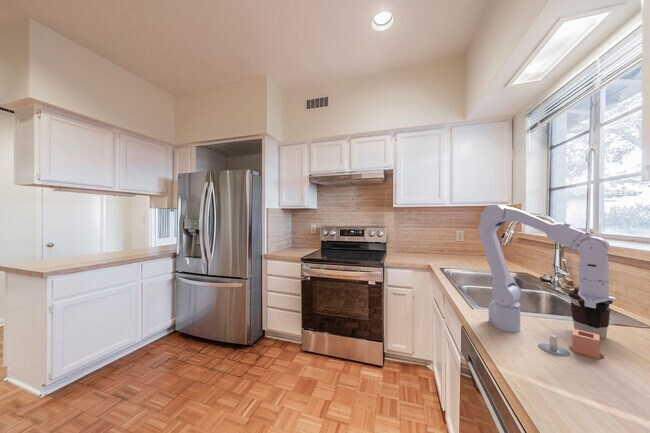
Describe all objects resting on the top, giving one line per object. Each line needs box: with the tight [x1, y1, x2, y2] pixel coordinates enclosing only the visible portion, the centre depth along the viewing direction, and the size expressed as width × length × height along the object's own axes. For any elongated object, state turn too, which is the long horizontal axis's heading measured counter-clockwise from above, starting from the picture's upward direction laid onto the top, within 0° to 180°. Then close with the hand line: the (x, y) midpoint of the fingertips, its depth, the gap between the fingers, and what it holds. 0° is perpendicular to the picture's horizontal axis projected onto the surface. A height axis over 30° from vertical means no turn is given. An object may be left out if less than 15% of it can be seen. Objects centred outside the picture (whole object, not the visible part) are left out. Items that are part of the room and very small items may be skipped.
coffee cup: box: [567, 286, 613, 339], centre depth 81 cm, size 10×10×15 cm
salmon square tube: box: [571, 328, 601, 360], centre depth 70 cm, size 5×5×5 cm
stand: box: [537, 334, 571, 358], centre depth 71 cm, size 7×7×5 cm
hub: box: [568, 344, 605, 360], centre depth 70 cm, size 7×7×5 cm
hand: (593, 326), depth 69 cm, fingers closed
